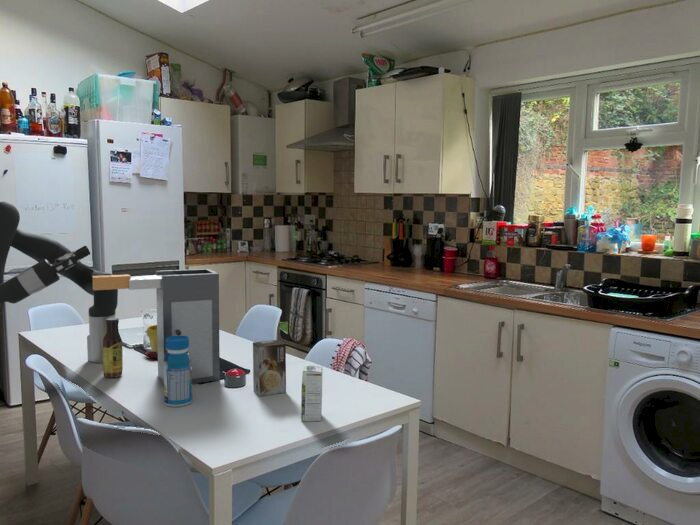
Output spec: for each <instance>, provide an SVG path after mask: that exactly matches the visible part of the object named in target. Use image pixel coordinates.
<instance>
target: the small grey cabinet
mask: <svg viewBox="0 0 700 525" xmlns="http://www.w3.org/2000/svg"><path fill="white" fill-rule="evenodd" d="M173 274H176V275H173ZM155 275H161V277H162V288H155V289H156V290H155V291H156V292H155V293H156V325H157V344H158V353H157V376H158V378H159V380H160V381H161V383H162V385H163V386H164V373H163V367H164V362H163V359H164V356H165V354H166V353H167V351H168V350H166V344H165V340H166V338H167V337H170V336H178V335H181V336H187V337H188V338H189V348H188V349H187V350H188V352H189V353H190V355H191V358H192V361H191V365H192V385H194V384H202V383H201V382H204V383H210V382H209V381H212V382H218V381H219V380H221V379H220V378H221V376H220V372H221V371H220V370H221V369H220V366H221V365H220V364H221V362H220V360H221V358H220V354H221V353H220V274H219V272H216V271H215V270H212V269H211V268H194V269H189V268H188V269H169V270H167V269H165V270H156V271H155Z"/></svg>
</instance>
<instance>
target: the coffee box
mask: <svg viewBox="0 0 700 525" xmlns="http://www.w3.org/2000/svg"><path fill="white" fill-rule="evenodd" d="M286 354H287V353H286V343H285V342H283V341H281V340H279V339H275V340H266V341H265V340H262V341H254V342H252V364H253V365H252V366H253V367H252V371H253V372H252V375H253V376H252V378H253V381H252V382H253V386H252V387H253V392H255V394H256V395H257V396H259V397H264V396H271V395H277V394H284V393H287V362H286V361H287V360H286V359H287V358H286Z"/></svg>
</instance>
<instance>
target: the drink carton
mask: <svg viewBox="0 0 700 525" xmlns="http://www.w3.org/2000/svg"><path fill="white" fill-rule="evenodd" d="M301 375H302V376H301V393H300V394H301V395H300V396H301V397H300V398H301V401H300V402H301V404H300V405H301V406H300V407H301V408H300V409H301V410H300V421H301V422H321V421H322V413H323V412H322V411H323V410H322V407H323V406H322V405H323V404H322V403H323V366H321V365H303V366H302V374H301Z"/></svg>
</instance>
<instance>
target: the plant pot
mask: <svg viewBox="0 0 700 525" xmlns="http://www.w3.org/2000/svg"><path fill="white" fill-rule="evenodd" d="M146 335H147V337H148V339H149V344H150V348H151V351H152V350H153V351H157V352H158V344H157V324H154V325H149V326H147V329H146Z"/></svg>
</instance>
